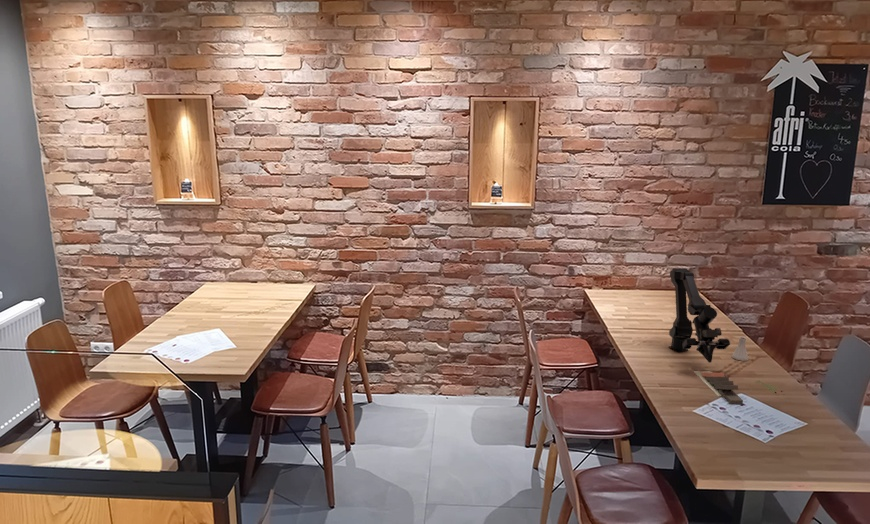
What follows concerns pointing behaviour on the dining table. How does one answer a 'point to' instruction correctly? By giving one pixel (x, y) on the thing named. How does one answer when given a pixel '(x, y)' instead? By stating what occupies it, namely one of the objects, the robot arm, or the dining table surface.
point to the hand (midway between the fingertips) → (710, 362)
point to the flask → (741, 350)
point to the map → (768, 386)
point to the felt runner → (707, 380)
